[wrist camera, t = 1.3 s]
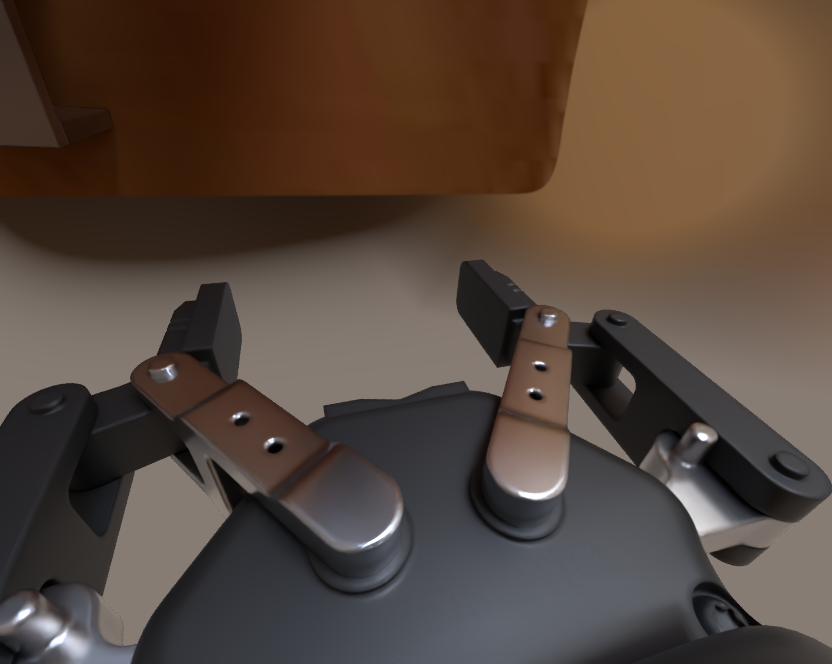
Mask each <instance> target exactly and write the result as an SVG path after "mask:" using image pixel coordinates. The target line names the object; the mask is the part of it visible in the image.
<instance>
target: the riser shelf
mask: <svg viewBox="0 0 832 664" xmlns="http://www.w3.org/2000/svg"><path fill="white" fill-rule="evenodd" d="M111 128H114V126H113V123H112V119H111V116H110V113H109V110H108V109H99V108H83V107H67V106H53V104H52V101H51V99H50V96H49V93H48V91H47V88H46V85H45V83H44V80H43V77H42V75H41V72H40V70H39V67H38V64H37V62H36V59H35V56H34V54H33V51H32V48H31V46H30V43H29V40H28V38H27V35H26V32H25V30H24V27H23V25H22V22H21V19H20V17H19V14H18V11H17V9H16V6H15V3H14V1H13V0H0V146H14V147H41V148H60V147H63V146H65V145H68V144H71V143H73V142H76V141H79V140H82V139H84V138H87V137H90V136H92V135H95V134H98V133H100V132H103V131H106V130H108V129H111Z"/></svg>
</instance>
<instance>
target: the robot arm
mask: <svg viewBox="0 0 832 664" xmlns="http://www.w3.org/2000/svg"><path fill="white" fill-rule="evenodd" d="M456 303H457V309H458V312H459V314H460V316H461V317H462V318H463V320H464V321H465V323H466V324H467V326H468V327H469V328H470V330H471V331H472V333H473V334H474V336H475V337H476V338H477V340H478V341H479V343H480V344H481V346H482V347H483V348H484V350H485V351H486V353H487V354H488V355H489V357H490V358H491V360H492V361H493V363H494V364H495V365H496V367H497V368H499V367H505V366H510V370H509V374H508V377H507V381H506V385H505V389H504V392H503V396H502V397H499V396H497V395H493V394H490V393H486V392H480V391H470V390H469V389H468V387H467V385H466V384H465V382H464V381H461V382H455V383H449V384H444V385H438V386H432V387H430V388H427V389H425V390H422V391H420V392H417V393H415V394H412V395H410V396H408V397H405V398H402V399H396V400H392V399H390V400H387V399H358V400H353V401H347V402H341V403H336V404H330V405H325V406H324V414H325V417H323V418H320V419H318V420H316V421H315V422H312V423H310V424H309V425H307V426H306V425H305V424H304V423H302V422H301V421H299V420H298V419H297V418H295V417H294V416H292V415H291V414H290V413H288V412H287V411H286V410H284V409H283V408H281V407H280V406H279V405H277V404H276V403H274V402H273V401H272V400H270V399H269V398H267V397H266V396H265V395H263V394H262V393H260V392H259V391H258V390H256V389H255V388H253V387H252V386H251V385H249V384H248V383H247V382H245V381H243V380H240V379H238V380H237V376H238V368H239V358H240V351H241V342H242V335H241V328H240V323H239V319H238V316H237V312H236V308H235V304H234V301H233V297H232V293H231V289H230V286H229V284H228V283H227V282H223V283H211V284H202V285H201V286H200V289H199V292H198V295H197V299H196V300H195V301H185V302H184V303H183V304H182V305H181V306H179V307H178V308H177V309H176V310H175V311H174V313H173V315H172V318H171V320H170V322H171V323H169V325H168V328H167V331H166V333H165V336H164V338H163V341H162V343H161V346H160V348H159V351H158V353H157V356H154V357H151V358H149V359H147V360H145V361H144V362H142V363H141V364H139V365H138V366H137V367H136V368H135V369H134V370H133V372H132V373H131V376H130V380H131V382H129V383H127V384H124V385H122V386H119V387H116V388H113V389H110V390H107V391H104V392H100V393H97V394H94V395H91V394H90V392H89V391H88V389H87V388H86V387H85V386H83V385H81V384H75V383H66V384H59V385H54V386H51V387H48V388H45V389H42V390H40V391H37V392H36V393H33V394H31V395H29V396H28V397H26V398H25V399H23V400H22V401H20V402H19V403H18V404H16V405H15V406H14V407H13V408H12V410H11V411H10V412H9V414H8V415H7V417H6V418H5V420H4V422H3V423H2V425H1V426H0V664H832V648H830V647H828V646H827V645H825V644H823V643H821V642H819V641H818V640H816V639H814V638H811V637H809V636H806V635H804V634H802V633H799V632H797V631H793V630H790V629H786V628H782V627H776V626H767V625H764V626H763V625H761V624H760V623H759V622H757V621H756V620H755V619H753V618H752V617H751V616H750V615H749V614H748V613H747V612H746V611H744V609H742V607H741V606H740V605H739V604H738V603H737V602H736V601H735V600H734V599H733V598H732V596H731V595H730V594H729V593H728V591H727V590H726V588H725V587H724V585H723V583H722V582H721V580H720V579H719V577H718V575H717V574H716V572H715V570H714V568H713V566H712V565H711V563H710V561H709V559H708V557H707V555H706V554H707V553H709V554H711V555H712V556H713V557H715V558H717V559H718V560H720V561H722V562H724V563H727V564H730V565H734V566H745V565H748V564H750V563H751V562H752V561H753V560H754V559H756V558H757V557H758V556H759V555H760V554H762V553H763V552H764V551H765V550H766V549H768V548H769V547H770V546H771V545H772V544H773V543H775V542H776V541H777V540H778V539H779V538H780V537H782V536H783V535H784V534H785V533H786V532H787V531H789V530H790V529H791V528H792V527H793V526H794V525H796V524H797V523H798V522H799V521H800V520H802V518H804V517H805V516H806V515H807V514H809V513H810V512H811V511H812V510H813V509H815V508H816V507H817V506H818V505H819V504H820V503H822V502H823V501H824V500H825V499H826V498H827V497H829V495H830V494H831V493H832V484H831V482H830V480H829V478H828V476H827V475H826V474H825V473H824V471H823V470H822V469H821V468H820V467H819V466H818V465H816V464H815V463H814V462H813V461H812V460H810V459H809V458H808V457H807V456H805V455H804V454H803V453H802V452H800V451H799V450H798V449H797V448H795V447H794V446H793V445H792V444H790V443H789V442H788V441H787V440H785V439H784V438H783V437H782V436H780V435H779V434H778V433H777V432H775V431H774V430H773V429H772V428H771V427H769V426H768V425H767V424H766V423H764V422H763V421H762V420H761V419H759V418H758V417H757V416H756V415H754V414H753V413H752V412H751V411H749V410H748V409H747V408H745V407H744V406H743V405H742V404H741V403H739V402H738V401H737V400H736V399H734V398H733V397H732V396H730V395H729V394H728V393H727V392H725V391H724V390H723V389H722V388H721V387H719V386H718V385H717V384H716V383H714V382H713V381H712V380H711V379H709V378H708V377H707V376H706V375H704V374H703V373H702V372H701V371H699V370H698V369H697V368H696V367H695V366H693V365H692V364H691V363H689V362H688V361H687V360H686V359H684V358H683V357H682V356H681V355H680V354H678V353H677V352H676V351H674V350H673V349H672V348H671V347H669V346H668V345H667V344H666V343H665V342H663V341H662V340H661V339H660V338H658V337H657V336H656V335H655V334H653V333H652V332H651V331H649V330H648V329H647V328H646V327H645V326H643V325H642V324H641V323H639V322H638V321H637V320H636V319H635V318H633V317H631V316H630V315H628V314H625V313H623V312H619V311H615V310H600V311H597V312H596V313H595V314H594V317H593V320H592V322H591V323H581V322H570V318H569V316H568V315H567V314H566V313H564V312H563V311H561V310H559V309H557V308H554V307H551V306H545V305H537V304H536V303H535V302H534V301H532V300H531V299H530V298H529V297H528V296H527V295H526V294H525V293H524V292H523V291H521V289H520V288H519V287H518V286H517V285H515V283H514V282H512V281H511V279H509V278H508V277H507V276H505V275H503V274H501V273H499V272H497V271H494V270H493V269H492V268H491V267H490V266H489V265H488V264H487V263H486V262H485V261H484V260H473V261H464V262H462V264H461V267H460V273H459V282H458V290H457V299H456ZM622 367H625V368H626V369H627V370H628V371H629V372H630V373H631V374H632V376H633V377H634V379H635V383H636V390H635V392H634V394H633V393H632V392H631V391H630V390H629V389H628V388H627V387H626V386H625V385H624V384H623V383H622V382H621V381H620V380H619V379H618V376H619V374H620V372H621V370H622ZM570 384H571V385H572V386H573V388H574V389H575V390H576V391H577V393H578V394H579V395H580V396H581V398H582V399H583V400H584V401H585V403H586V404H587V405H588V406H589V408H590V409H591V410H592V411H593V413H594V414H595V415H596V416H597V418H598V419H599V420H600V421H601V423H602V424H603V425H604V426H605V427H606V429H607V430H608V431H609V432H610V434H611V435H612V436H613V438H614V439H615V440H616V441H617V443H618V444H619V445H620V446H621V447H622V449H623V450H624V451H625V452H626V454H627V455H628V456H629V457H630V459H631V460H632V461H633V462H634V464H635V465H636V466H635V465H633V464H631V463H629V462H627V461H625V460H623V459H621V458H619V457H617V456H615V455H613V454H611V453H609V452H607V451H606V450H604V449H602V448H600V447H598V446H596V445H594V444H592V443H590V442H588V441H586V440H584V439H582V438H580V437H578V436H576V435H574V434H572V433H571V432H570V431H569V430H568V428H567V424H568V408H569V393H570ZM168 456H170V457H171V458H172V459H173V460H174V461H175V462H176V463H177V464H178V466H180V467H181V469H182V470H183V471H184V472H185V473H186V474H187V475H188V476H190V478H191V479H192V480H193V481H194V482H195V483H196V484H197V485H198V486H199V487H200V488H201V489H202V490H203V491H204V492H205V493H206V494H207V495H208V496H209V498H210V499H211V500H212V502H213V503H214V505H215V506H216V508H217V509H218V511H219V512H220V513H221V515H222V516H223V517H224V519H225V522H224V523H223V524H222V525H221V527H220V528H219V529H218V531H217V532H216V533H215V534H214V536H213V537H212V538H211V539H210V541H209V542H208V543H207V545H206V546H205V547H204V548H203V550H202V551H201V552H200V553H199V555H198V556H197V557H196V558H195V560H194V561H193V562H192V564H191V565H190V566H189V567H188V569H187V570H186V571H185V572H184V574H183V575H182V576H181V578H180V579H179V580H178V581H177V583H176V584H175V585H174V587H173V588H172V589H171V590H170V592H169V593H168V594H167V595H166V597H165V598H164V599H163V601H162V602H161V603H160V605H159V606H158V607H157V609H156V610H155V612H154V613H153V615H152V616H151V618H150V620H149V621H148V623H147V625H146V627H145V629H144V630H143V632H142V635H141V637H140V639H139V641H138V644H135V645H129V646H123V631H124V626H123V621H122V618H121V616H120V615H119V613H118V612H117V611H116V610H115V609H114V608H113V607H112V606H110V604H109V603H107V602H106V601H105V600H104V599H103V598H102V596H103V592H104V588H105V584H106V581H107V577H108V573H109V569H110V565H111V561H112V557H113V553H114V549H115V546H116V542H117V538H118V534H119V531H120V527H121V523H122V519H123V515H124V511H125V507H126V504H127V500H128V496H129V492H130V488H131V484H132V480H133V476H134V472H135V470H138V469H140V468H142V467H145V466H147V465H149V464H152V463H154V462H156V461H159V460H161V459H164V458H166V457H168Z"/></svg>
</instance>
